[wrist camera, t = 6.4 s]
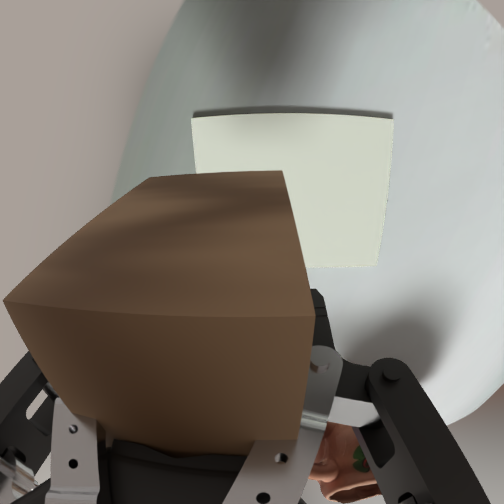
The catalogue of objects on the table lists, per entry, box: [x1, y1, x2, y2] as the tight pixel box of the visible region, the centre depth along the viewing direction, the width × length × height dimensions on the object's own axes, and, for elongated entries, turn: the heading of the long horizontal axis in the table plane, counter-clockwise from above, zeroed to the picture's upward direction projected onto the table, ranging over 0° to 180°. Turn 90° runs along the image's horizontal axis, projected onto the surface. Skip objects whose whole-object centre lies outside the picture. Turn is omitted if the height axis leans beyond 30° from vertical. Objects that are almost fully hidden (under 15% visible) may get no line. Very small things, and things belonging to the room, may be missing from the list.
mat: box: [191, 113, 394, 268], centre depth 21 cm, size 14×12×1 cm
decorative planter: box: [308, 421, 382, 504], centre depth 29 cm, size 20×12×14 cm, turn 70°
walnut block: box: [3, 170, 316, 464], centre depth 9 cm, size 5×9×8 cm, turn 2°
